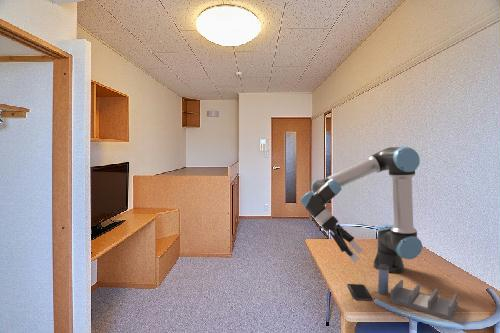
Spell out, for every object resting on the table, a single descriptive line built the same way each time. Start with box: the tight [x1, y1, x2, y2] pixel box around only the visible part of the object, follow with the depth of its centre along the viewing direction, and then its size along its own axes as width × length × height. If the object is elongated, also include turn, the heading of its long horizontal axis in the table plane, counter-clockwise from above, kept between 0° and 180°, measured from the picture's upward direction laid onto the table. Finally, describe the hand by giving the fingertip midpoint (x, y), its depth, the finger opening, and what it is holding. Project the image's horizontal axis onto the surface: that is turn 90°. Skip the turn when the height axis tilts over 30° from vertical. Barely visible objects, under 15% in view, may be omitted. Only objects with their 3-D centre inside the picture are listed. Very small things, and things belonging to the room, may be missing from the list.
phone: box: [347, 283, 374, 302], centre depth 141 cm, size 8×1×15 cm
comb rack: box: [389, 279, 459, 321], centre depth 131 cm, size 15×22×5 cm
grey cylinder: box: [377, 264, 390, 295], centre depth 141 cm, size 4×4×12 cm
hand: (359, 256), depth 145 cm, fingers open, 13 cm apart
